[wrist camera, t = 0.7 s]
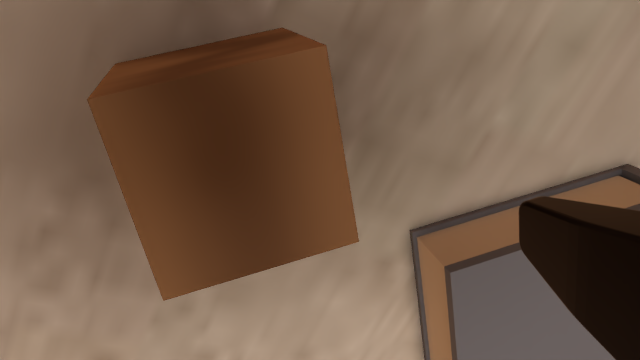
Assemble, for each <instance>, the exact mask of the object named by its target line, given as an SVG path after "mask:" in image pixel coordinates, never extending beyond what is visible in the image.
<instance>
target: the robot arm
mask: <svg viewBox="0 0 640 360" xmlns="http://www.w3.org/2000/svg"><path fill="white" fill-rule="evenodd" d="M519 243H520V247H521V250H522V252H523V253H524V255H525V256H526V257H527V259H528V260H529V261H530V262H531V264H532V265H533V266H534V267H535V269H536V270H537V271H538V272H539V274H540V275H541V276H542V277H543V279H544V280H545V281H546V283H547V284H548V285H549V286H550V288H551V289H552V290H553V291H554V293H555V294H556V295H557V296H558V298H559V299H560V300H561V301H562V303H563V304H564V305H565V306H566V308H567V309H568V310H569V311H570V312H571V313H572V315H573V316H574V317H575V318H576V319H577V320H578V321H579V322H580V323H581V325H582V326H583V327H584V328H585V329H586V330H587V331H588V332H589V333H590V334H591V335H592V336H593V337H594V338H595V339H596V340H597V341H598V342H599V343H600V344H601V345H602V346H603V347H604V348H605V349H606V350H607V351H608V352H609V353H610V354H611V355H612V356H613V358H614V359H615V360H640V211H638V210H631V209H625V208H618V207H612V206H605V205H599V204H592V203H586V202H579V201H573V200H566V199H560V198H553V197H547V196H540V197H536V198H533V199H530V200H527V201H524V202H522V203H521V205H520V207H519Z"/></svg>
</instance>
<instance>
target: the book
mask: <svg viewBox="0 0 640 360" xmlns="http://www.w3.org/2000/svg"><path fill="white" fill-rule="evenodd" d="M540 196H547V197H553V198H560V199H566V200H573V201H579V202H586V203H592V204H599V205H605V206H612V207H618V208H625V209H631V210H638V211H640V169H639V168H636V167H634V166H631V165H629V164H626V165H623V166H619V167H616V168H613V169H610V170H606V171H603V172H600V173H596V174H593V175H590V176H587V177H583V178H580V179H577V180H573V181H570V182H567V183H564V184H560V185H557V186H554V187H550V188H547V189H544V190H541V191H537V192H534V193H531V194H527V195H524V196H521V197H518V198H514V199H511V200H508V201H504V202H501V203H498V204H495V205H491V206H488V207H485V208H482V209H478V210H475V211H472V212H468V213H465V214H462V215H459V216H455V217H452V218H449V219H445V220H442V221H439V222H436V223H432V224H429V225H426V226H422V227H419V228H416V229H413V230H410V236H411V245H412V253H413V262H414V271H415V279H416V288H417V296H418V305H419V314H420V322H421V331H422V340H423V348H424V357H425V360H615V359H614V358H613V356H612V355H611V354H610V353H609V352H608V351H607V350H606V349H605V348H604V347H603V346H602V345H601V344H600V343H599V342H598V341H597V340H596V339H595V338H594V337H593V336H592V335H591V334H590V333H589V332H588V331H587V330H586V329H585V328H584V327H583V326H582V325H581V323H580V322H579V321H578V320H577V319H576V318H575V317H574V316H573V315H572V313H571V312H570V311H569V310H568V309H567V308H566V306H565V305H564V304H563V303H562V301H561V300H560V299H559V298H558V296H557V295H556V294H555V293H554V291H553V290H552V289H551V288H550V286H549V285H548V284H547V283H546V281H545V280H544V279H543V277H542V276H541V275H540V274H539V272H538V271H537V270H536V269H535V267H534V266H533V265H532V264H531V262H530V261H529V260H528V259H527V257H526V256H525V255H524V253H523V252H522V250H521V247H520V243H519V207H520V205H521V203H522V202H524V201H527V200H530V199H533V198H536V197H540Z"/></svg>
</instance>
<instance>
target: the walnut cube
mask: <svg viewBox="0 0 640 360" xmlns="http://www.w3.org/2000/svg"><path fill="white" fill-rule="evenodd" d="M87 100H88V103H89V106H90V108H91V111H92V114H93V116H94V119H95V121H96V124H97V127H98V129H99V132H100V135H101V137H102V140H103V143H104V145H105V148H106V150H107V153H108V156H109V158H110V161H111V164H112V166H113V169H114V172H115V174H116V177H117V180H118V182H119V185H120V187H121V190H122V193H123V195H124V198H125V201H126V203H127V206H128V209H129V211H130V214H131V216H132V219H133V222H134V224H135V227H136V230H137V232H138V235H139V238H140V240H141V243H142V245H143V248H144V251H145V253H146V256H147V259H148V261H149V264H150V267H151V269H152V272H153V275H154V277H155V280H156V282H157V285H158V288H159V290H160V293H161V296H162V298H163V301H164V300H167V299H171V298H174V297H177V296H181V295H184V294H187V293H191V292H194V291H197V290H200V289H204V288H207V287H210V286H214V285H217V284H220V283H224V282H227V281H230V280H234V279H237V278H240V277H243V276H247V275H250V274H253V273H257V272H260V271H263V270H267V269H270V268H273V267H277V266H280V265H283V264H287V263H290V262H293V261H296V260H300V259H303V258H306V257H310V256H313V255H316V254H320V253H323V252H326V251H330V250H333V249H336V248H339V247H343V246H346V245H349V244H353V243H356V242H359V239H358V233H357V227H356V221H355V215H354V209H353V203H352V197H351V191H350V185H349V179H348V173H347V167H346V161H345V155H344V149H343V143H342V137H341V131H340V125H339V119H338V113H337V107H336V101H335V95H334V89H333V83H332V77H331V71H330V65H329V59H328V53H327V47H326V45H324V44H322V43H319V42H317V41H314V40H312V39H309V38H307V37H304V36H302V35H299V34H297V33H294V32H292V31H289V30H287V29H284V28H278V29H274V30H269V31H264V32H260V33H255V34H250V35H246V36H241V37H237V38H232V39H227V40H223V41H218V42H214V43H209V44H204V45H200V46H195V47H190V48H186V49H181V50H177V51H172V52H167V53H163V54H158V55H153V56H149V57H144V58H140V59H135V60H130V61H126V62H121V63H116V64H115V65H114V66H113V67H112V69H111V70H110V71H109V72H108V74H107V75H106V76H105V77H104V79H103V80H102V81H101V82H100V84H99V85H98V86H97V88H96V89H95V90H94V91H93V93H92V94H91V95H90V96H89V98H88V99H87Z"/></svg>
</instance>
